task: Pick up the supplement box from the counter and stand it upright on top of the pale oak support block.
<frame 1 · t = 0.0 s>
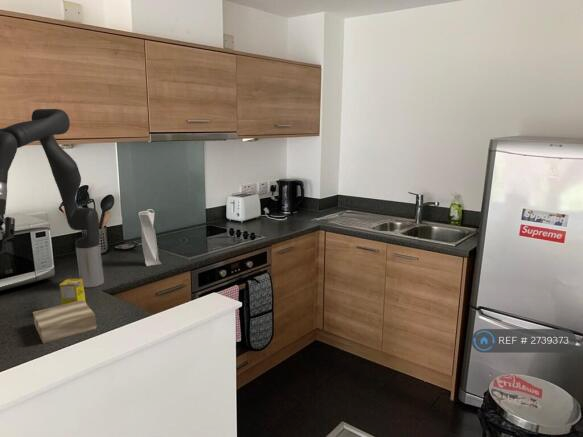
skyscraper: (152, 264, 213), on the worktop
supplement box: (74, 309, 162), on the worktop
oak support block: (65, 326, 148), on the worktop
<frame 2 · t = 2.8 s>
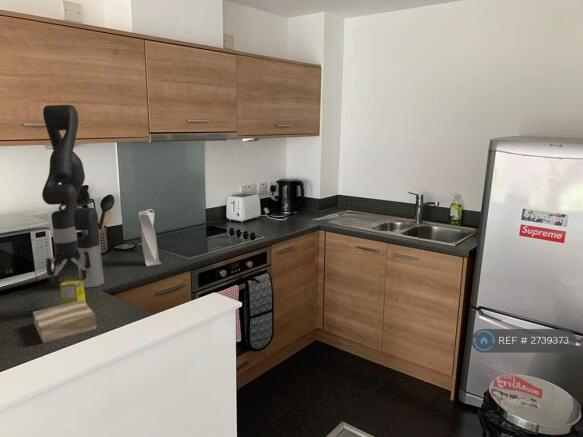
hand: (70, 282, 160), 11 cm above the worktop, tool pointing down, fingers open, 8 cm apart
supplement box: (75, 309, 162), on the worktop, touching gripper
everything else where it was.
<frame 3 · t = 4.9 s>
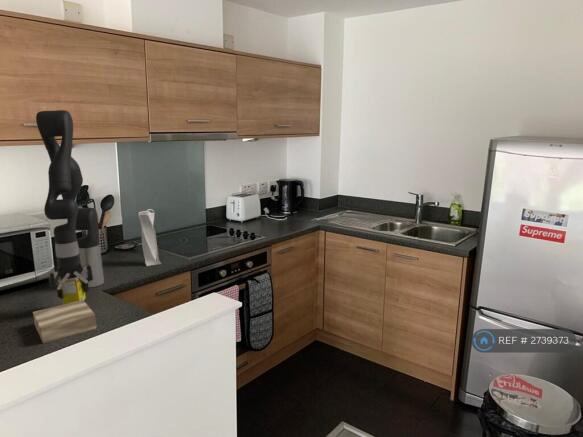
hand: (73, 295, 162), 5 cm above the worktop, tool pointing down, fingers closed on supplement box, 8 cm apart
supplement box: (75, 304, 163), point 1 cm above the worktop, touching gripper
everything else where it was.
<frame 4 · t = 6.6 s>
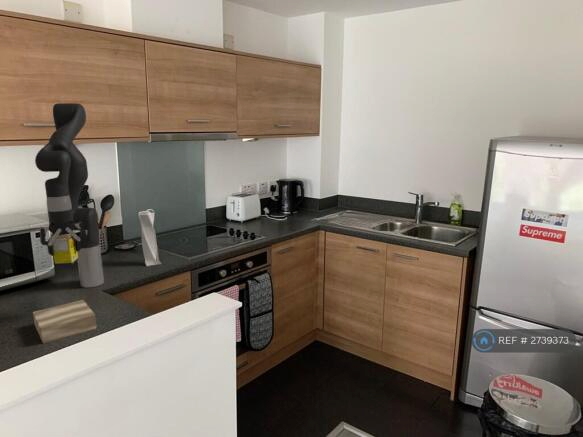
hand: (65, 253, 155), 22 cm above the worktop, tool pointing down, fingers closed on supplement box, 8 cm apart
supplement box: (67, 263, 157), point 18 cm above the worktop, touching gripper
everything else where it was.
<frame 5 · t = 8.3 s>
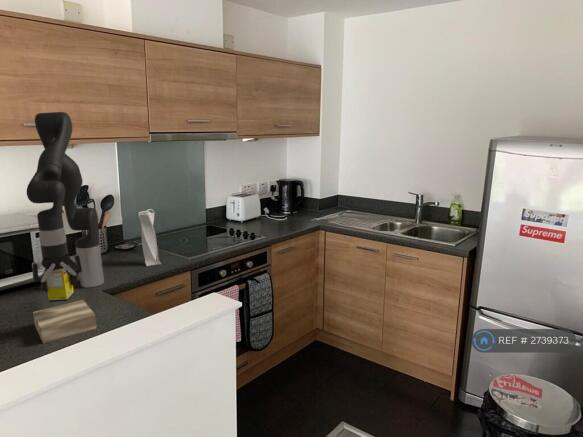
hand: (60, 288, 145), 14 cm above the worktop, tool pointing down, fingers closed on supplement box, 8 cm apart
supplement box: (61, 298, 147), point 10 cm above the worktop, touching gripper
everything else where it was.
when the fingers open (10 cm above the worktop, at t = 9.8 s): supplement box drops 1 cm, resting on oak support block.
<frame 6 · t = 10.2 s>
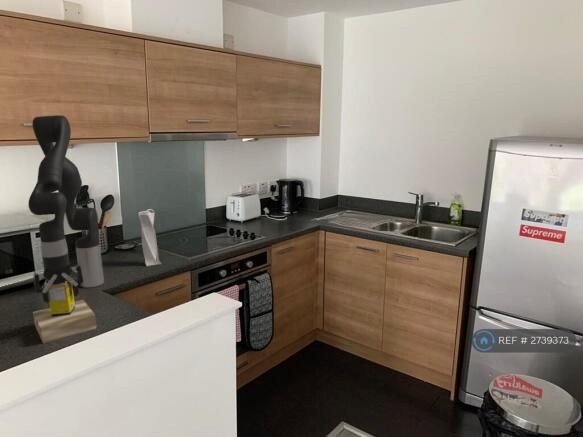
hand: (61, 299, 146), 10 cm above the worktop, tool pointing down, fingers open, 8 cm apart
supplement box: (63, 312, 148), point 5 cm above the worktop, touching oak support block
everything else where it was.
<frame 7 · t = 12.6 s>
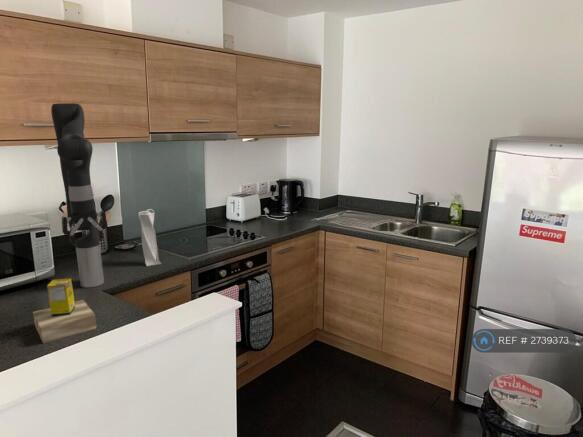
hand: (87, 242, 154), 26 cm above the worktop, tool pointing down, fingers open, 8 cm apart
nothing on the worktop moved.
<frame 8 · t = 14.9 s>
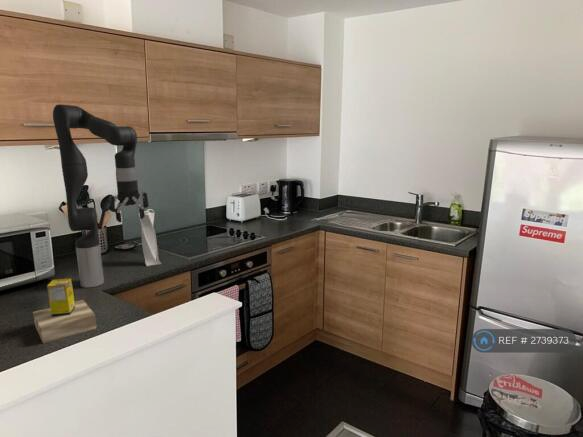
hand: (130, 220, 171), 30 cm above the worktop, tool pointing down, fingers open, 8 cm apart
nothing on the worktop moved.
at the end: supplement box inside the target area on the oak support block (1.0 cm from its centre), point 4.8 cm above the oak support block's base; supplement box tilted 0°; the gripper is holding nothing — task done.
